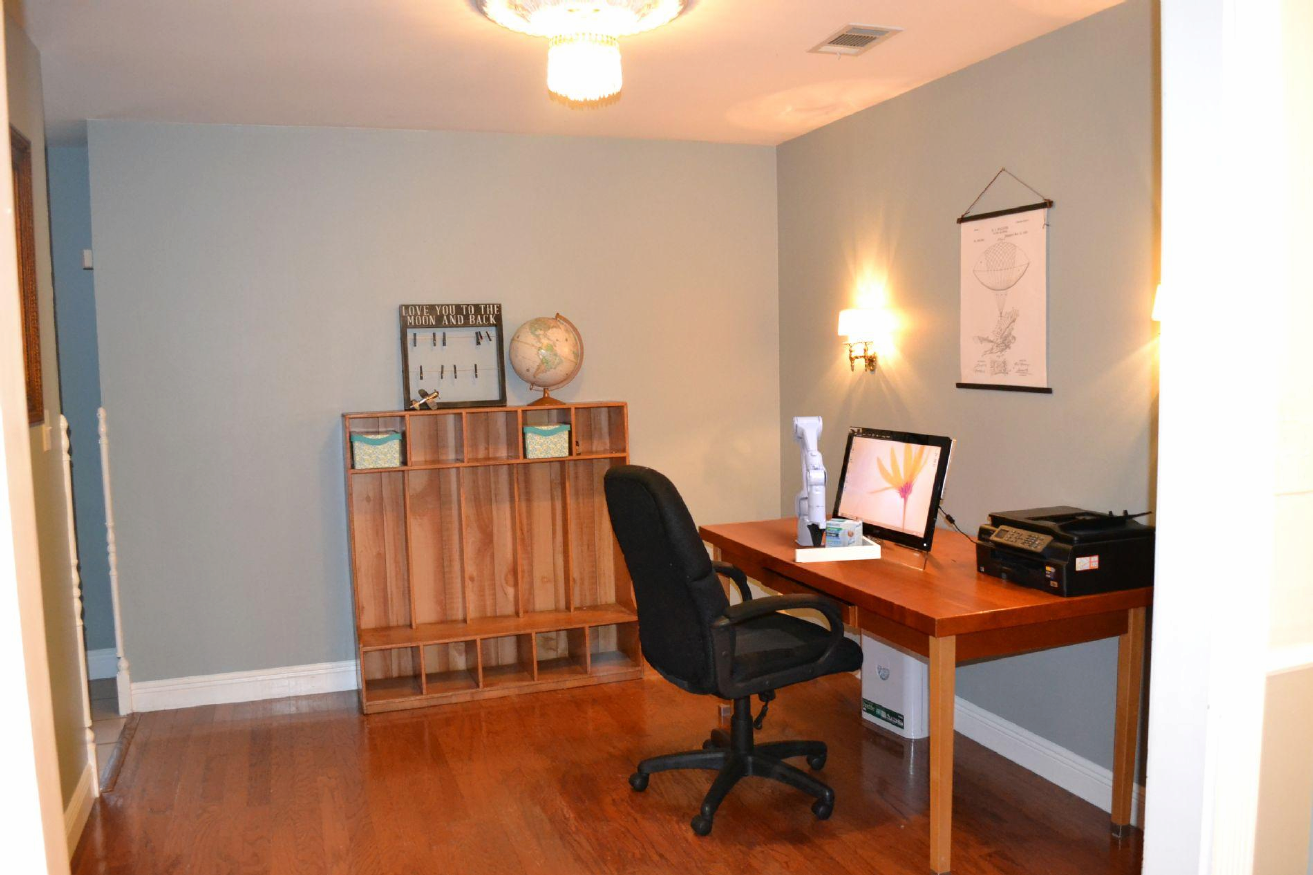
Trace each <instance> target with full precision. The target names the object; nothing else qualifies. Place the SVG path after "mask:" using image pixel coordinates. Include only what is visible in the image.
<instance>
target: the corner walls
mask: <svg viewBox="0 0 1313 875" xmlns="http://www.w3.org/2000/svg"><path fill="white" fill-rule="evenodd" d="M794 555H795V556H794V557H795V558H794V560H795V563H796V562H802V563H815V562H816V563H819V562H835V561H837V562H838V561H853V560H872V559H873V560H874V559H881V558H882V556H881V545H880V544H878V543H876V542H874V541H873V540H871V539H869V538H868V537H866V536H864V535H863V534H862V546H851V547H832V548H825V547H813V548H802V549H801V548H799V549H798V548H797V549H796V548H795V554H794Z"/></svg>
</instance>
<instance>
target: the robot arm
mask: <svg viewBox="0 0 1313 875" xmlns="http://www.w3.org/2000/svg"><path fill="white" fill-rule="evenodd" d="M791 423H792V424H791V425H792V426H791V427H792V428H791V429H792V438H793V441H794V442H795V443H797V444H798V446H799V451H800V467H801V484H802V490H801V491H799V492H798V493H797V494H796V495H795V497H794V515H795V516H796V518H798V522H797V539H795V542H796V543H797V544H798V545H800V546H802V547H810V546H811V547H813V548H821V546H825V543H824V542H823V538H824V534H825V530H826V528H827V527H826V521H827V519H826V487H827V485H828V484H827V482H828V476H827V470H826V468H825V466H824V462H823V455H822V453H821V452H820V451H819V450H818V442H819V441H820V439H821V437H822V433H823V417H821V415H818V416H794V417H792V422H791Z"/></svg>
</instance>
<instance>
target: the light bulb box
mask: <svg viewBox="0 0 1313 875" xmlns="http://www.w3.org/2000/svg"><path fill="white" fill-rule="evenodd" d="M826 527H827V528H826V530H825V532H824V534H825V537H824V538H825V543H824V546H825V547H824V548H832V547H851V546H862V535H863V521H862V520H857V519H843V518H831V519H829V520H826Z"/></svg>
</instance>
